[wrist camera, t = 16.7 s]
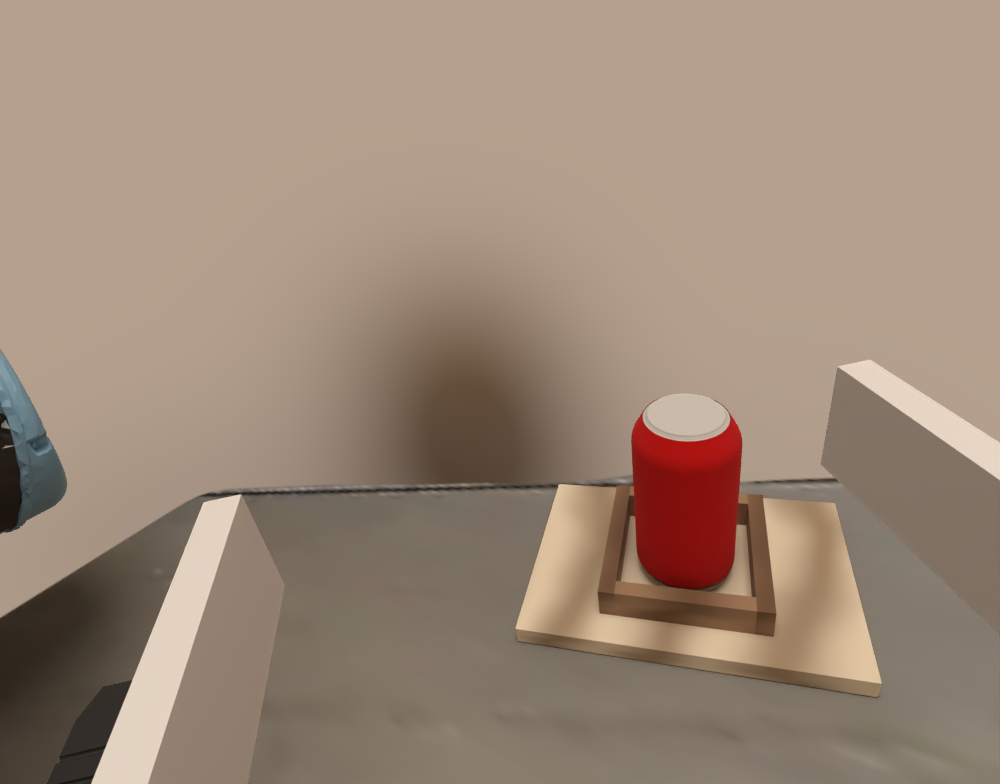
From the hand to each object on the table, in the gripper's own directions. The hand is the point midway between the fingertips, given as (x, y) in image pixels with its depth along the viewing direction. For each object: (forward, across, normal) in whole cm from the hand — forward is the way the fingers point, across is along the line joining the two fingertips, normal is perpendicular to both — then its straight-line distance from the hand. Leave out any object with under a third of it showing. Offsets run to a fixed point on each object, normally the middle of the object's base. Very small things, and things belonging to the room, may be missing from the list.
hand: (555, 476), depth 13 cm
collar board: (+16, +11, -24) cm, 31 cm away
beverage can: (+16, +11, -24) cm, 31 cm away
